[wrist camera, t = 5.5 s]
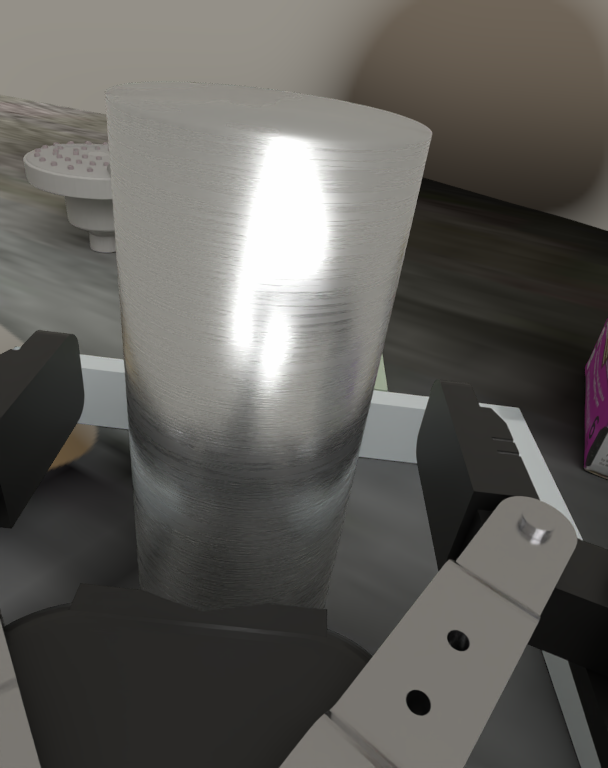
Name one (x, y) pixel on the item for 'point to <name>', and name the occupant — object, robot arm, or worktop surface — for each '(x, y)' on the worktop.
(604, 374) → the candy bar box
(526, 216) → the worktop surface
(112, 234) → the showerhead
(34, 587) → the worktop surface
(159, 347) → the brushed metal cylinder
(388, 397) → the white frame
